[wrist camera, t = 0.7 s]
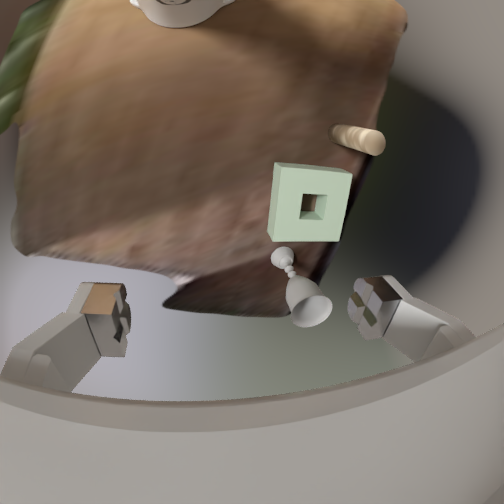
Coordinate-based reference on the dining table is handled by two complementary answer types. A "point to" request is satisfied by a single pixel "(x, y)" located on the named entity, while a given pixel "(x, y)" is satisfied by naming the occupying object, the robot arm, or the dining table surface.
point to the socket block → (290, 198)
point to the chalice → (301, 293)
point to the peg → (358, 138)
